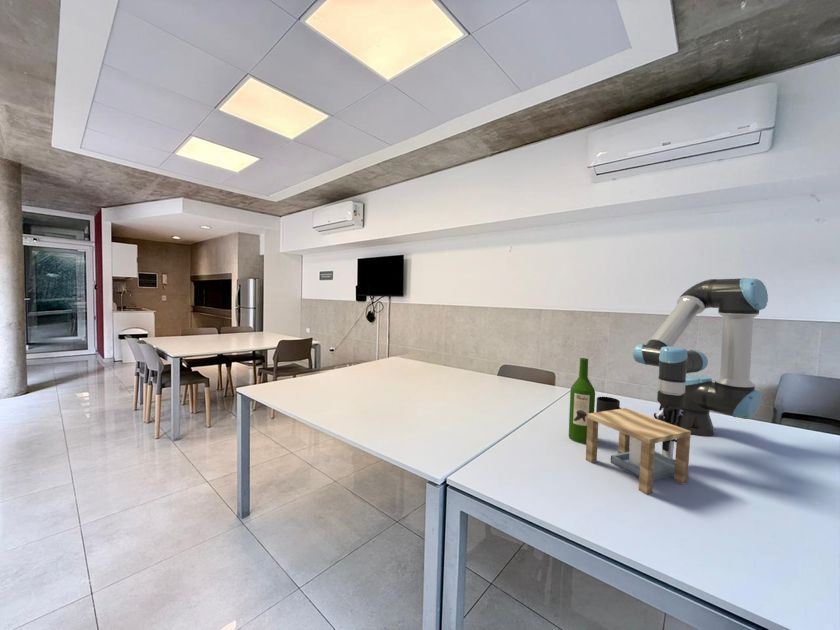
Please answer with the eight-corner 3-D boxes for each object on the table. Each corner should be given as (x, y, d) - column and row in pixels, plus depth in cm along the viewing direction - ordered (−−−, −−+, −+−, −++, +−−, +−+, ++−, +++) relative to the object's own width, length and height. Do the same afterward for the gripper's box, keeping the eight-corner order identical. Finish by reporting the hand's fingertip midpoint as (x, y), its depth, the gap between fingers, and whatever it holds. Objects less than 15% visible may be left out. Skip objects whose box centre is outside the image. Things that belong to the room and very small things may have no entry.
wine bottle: (568, 441, 135) (572, 359, 133) (568, 432, 143) (571, 355, 141) (594, 445, 131) (597, 361, 129) (591, 436, 140) (595, 357, 138)
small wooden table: (622, 451, 126) (625, 408, 125) (687, 483, 106) (690, 431, 105) (585, 459, 120) (587, 413, 119) (646, 494, 99) (649, 439, 98)
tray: (646, 454, 124) (647, 447, 124) (685, 472, 112) (685, 464, 112) (610, 462, 118) (610, 455, 118) (646, 482, 106) (647, 474, 106)
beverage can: (643, 473, 110) (645, 436, 109) (624, 464, 115) (626, 429, 114) (654, 468, 113) (656, 433, 112) (635, 460, 118) (637, 426, 117)
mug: (616, 425, 151) (617, 405, 151) (591, 416, 162) (592, 398, 161) (628, 422, 156) (629, 402, 155) (603, 413, 166) (604, 395, 166)
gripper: (672, 387, 123) (668, 451, 124) (647, 391, 118) (643, 457, 120) (695, 393, 116) (691, 460, 117) (669, 397, 111) (665, 467, 113)
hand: (667, 458), depth 118 cm, fingers closed
